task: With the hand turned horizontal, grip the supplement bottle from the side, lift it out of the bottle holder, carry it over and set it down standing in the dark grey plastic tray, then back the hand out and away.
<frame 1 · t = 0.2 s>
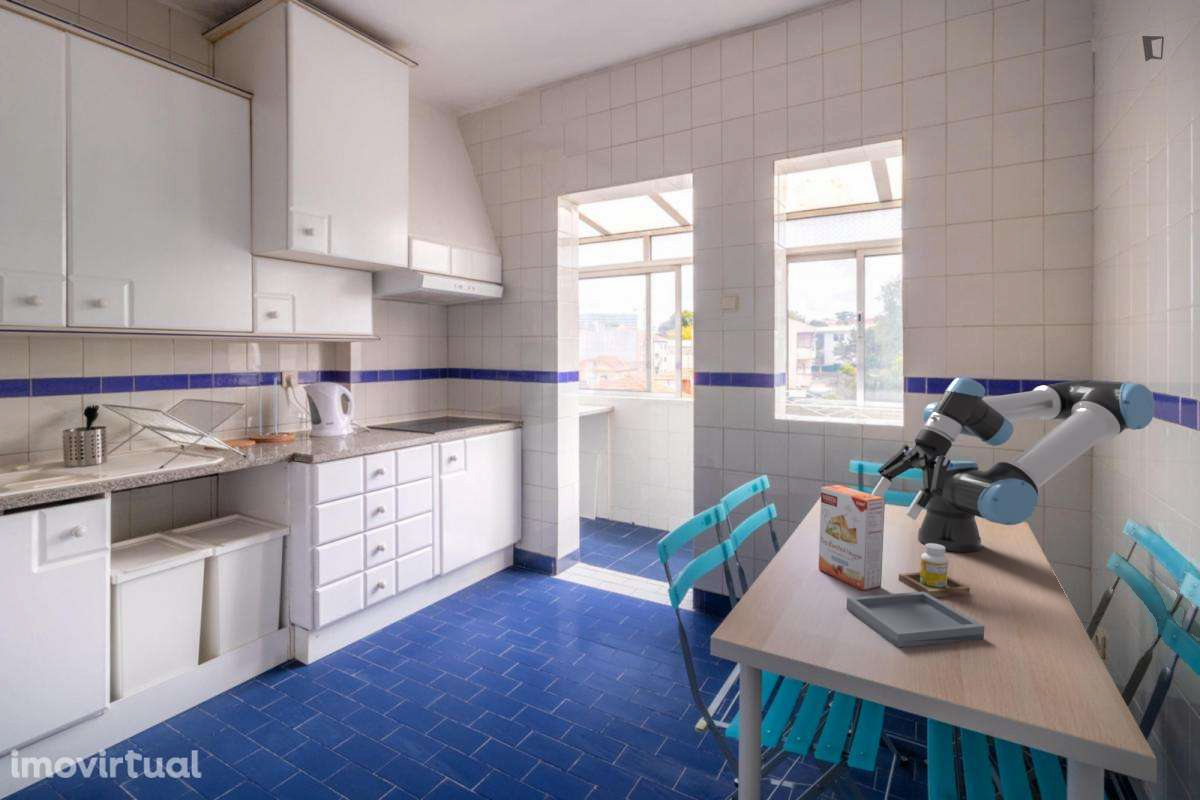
hand: (890, 508, 147), 15 cm above the table, tool tilted 35°, fingers open, 13 cm apart
supplement bottle: (933, 588, 136), resting in bottle holder
cracker box: (848, 579, 141), on the table
bottle holder: (933, 587, 136), on the table
tray: (911, 623, 119), on the table
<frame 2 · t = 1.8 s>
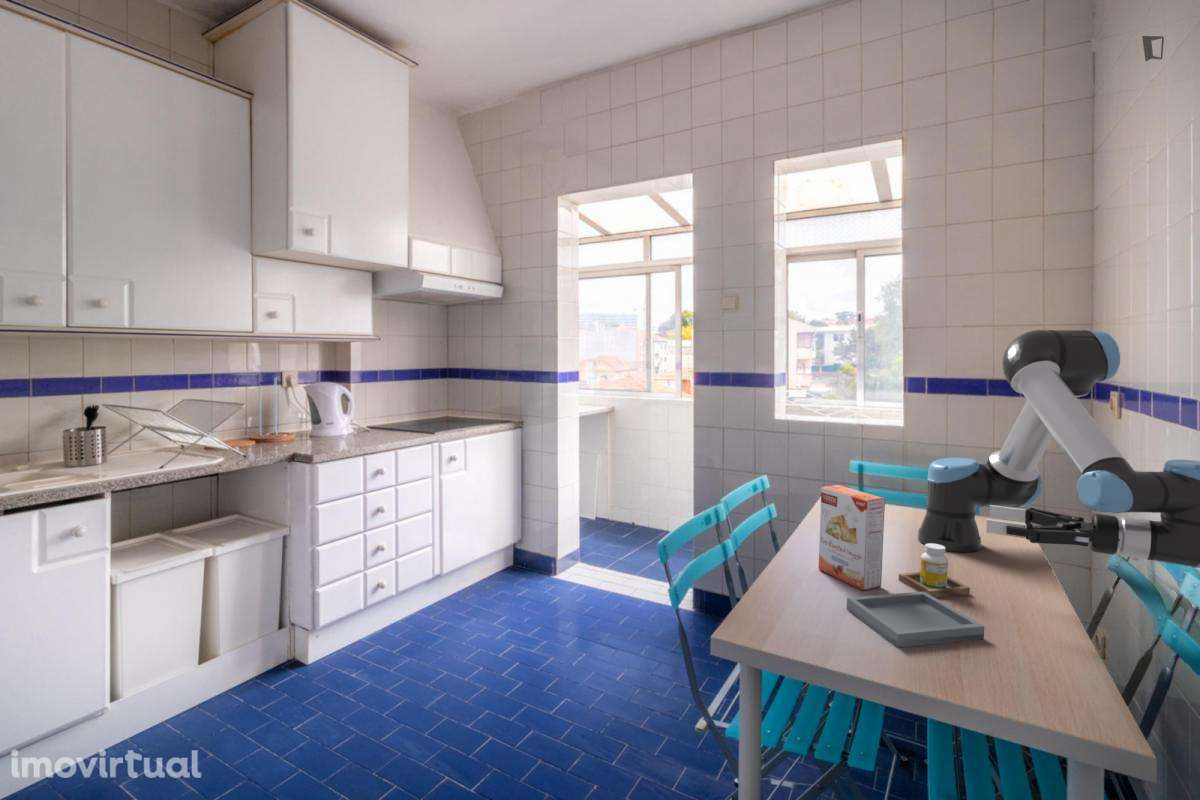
hand: (988, 518, 129), 18 cm above the table, tool horizontal, fingers open, 13 cm apart
nothing on the table moved.
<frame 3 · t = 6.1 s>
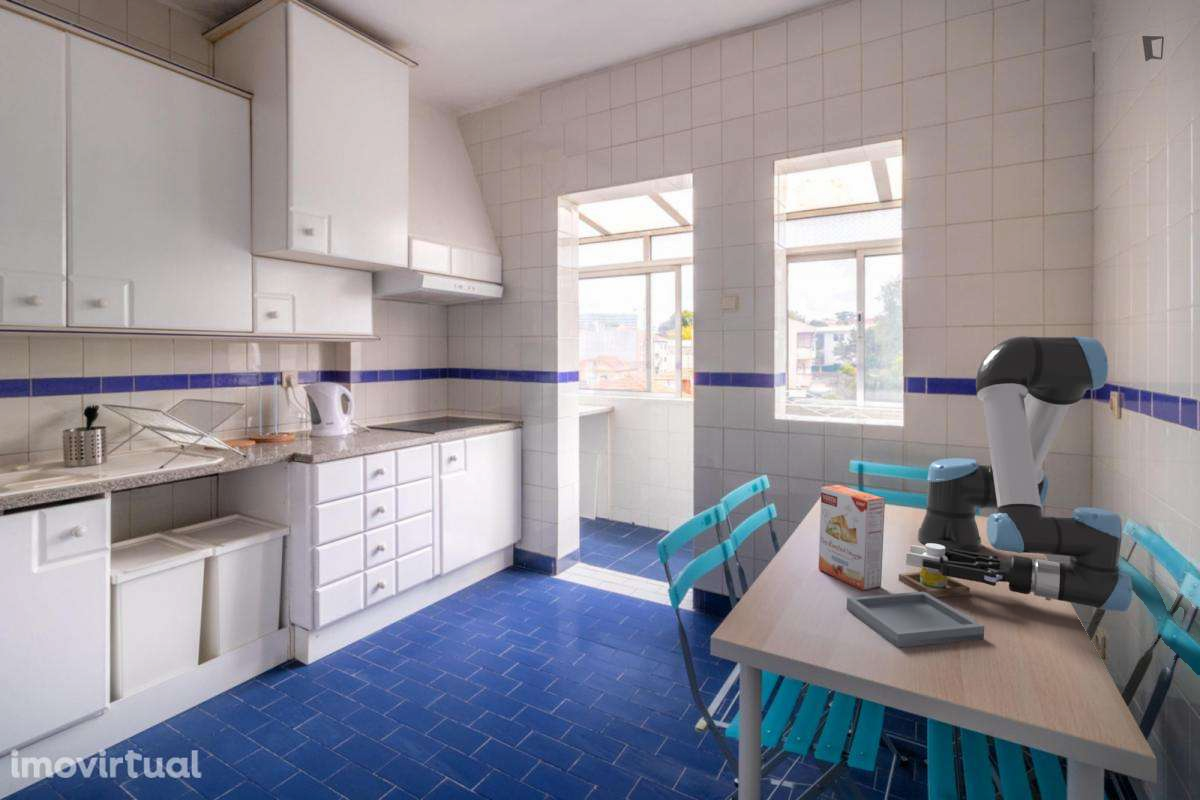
hand: (908, 554, 139), 7 cm above the table, tool horizontal, fingers closed on supplement bottle, 5 cm apart
supplement bottle: (933, 588, 136), resting in bottle holder, touching gripper
everything else where it was.
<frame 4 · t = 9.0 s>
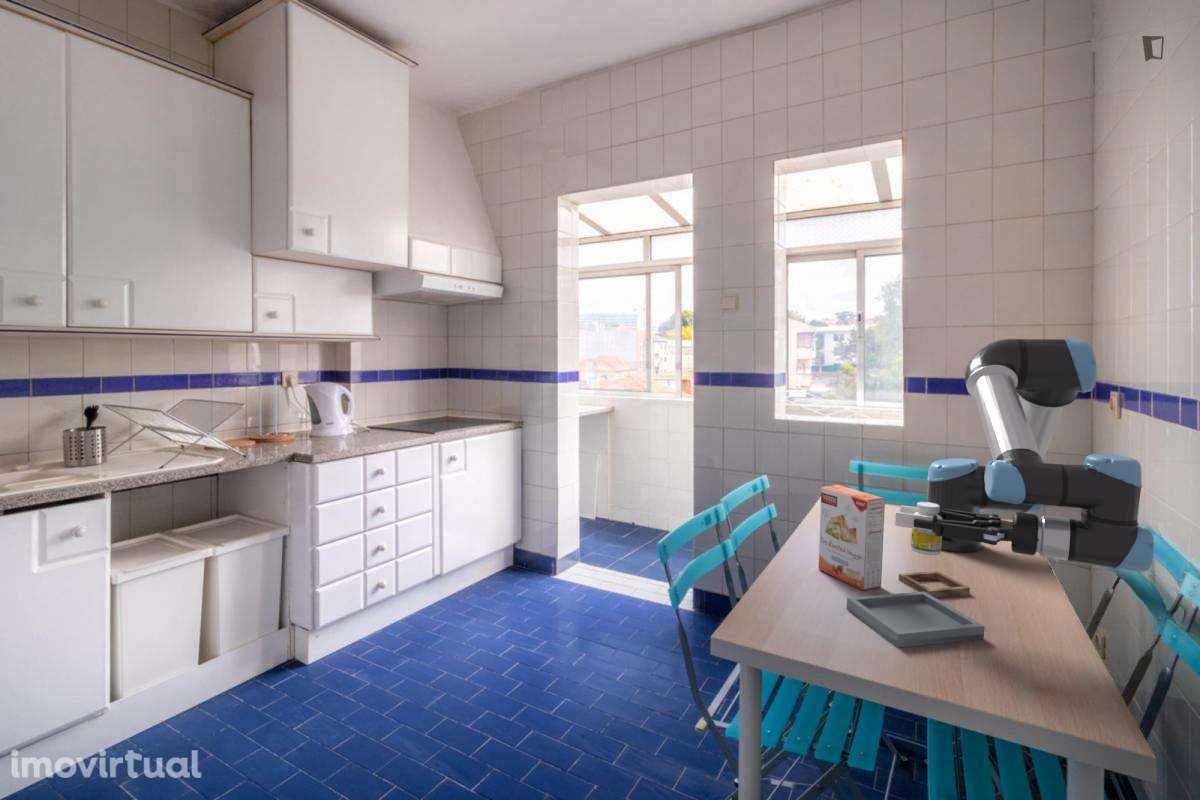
hand: (898, 515, 123), 20 cm above the table, tool horizontal, fingers closed on supplement bottle, 5 cm apart
supplement bottle: (925, 552, 121), point 13 cm above the table, touching gripper
everything else where it was.
when the fingers open (8 cm above the table, at t = 12.1 s): supplement bottle stays where it is, resting on tray.
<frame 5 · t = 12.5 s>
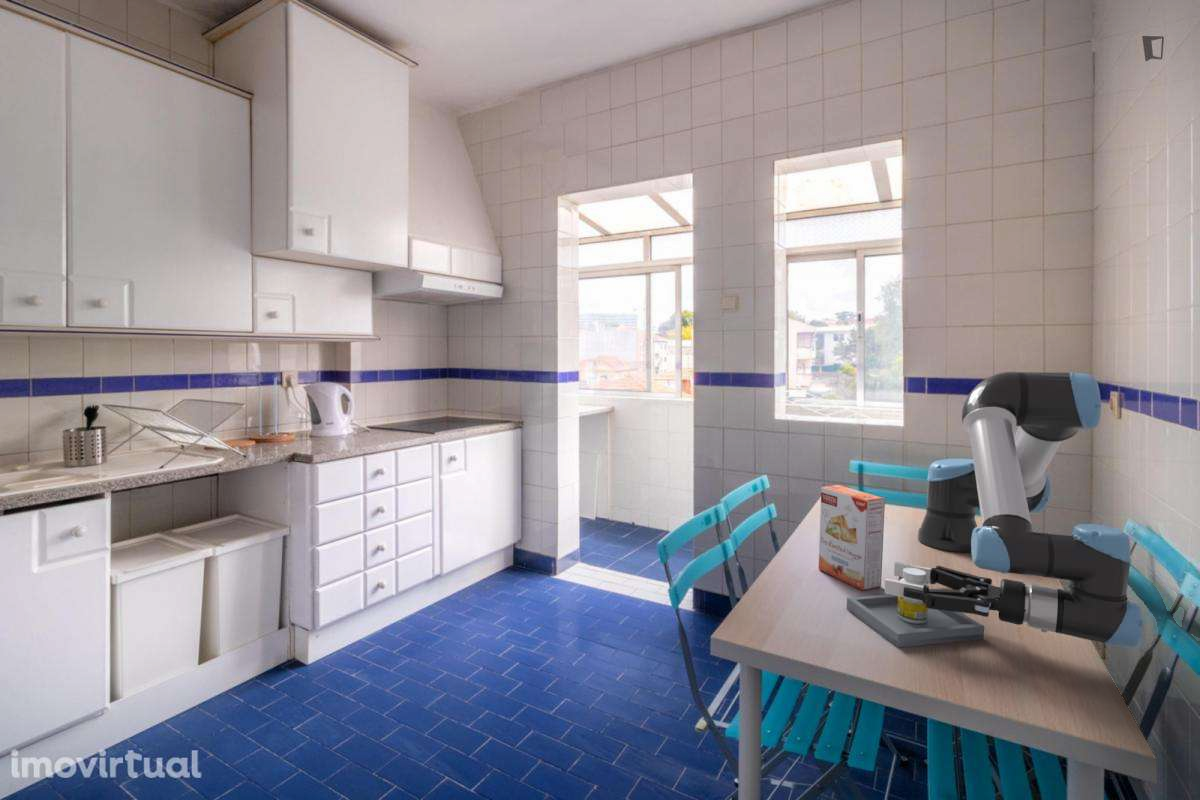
hand: (890, 576, 120), 8 cm above the table, tool horizontal, fingers open, 10 cm apart
supplement bottle: (912, 619, 119), point 1 cm above the table, touching tray
everything else where it was.
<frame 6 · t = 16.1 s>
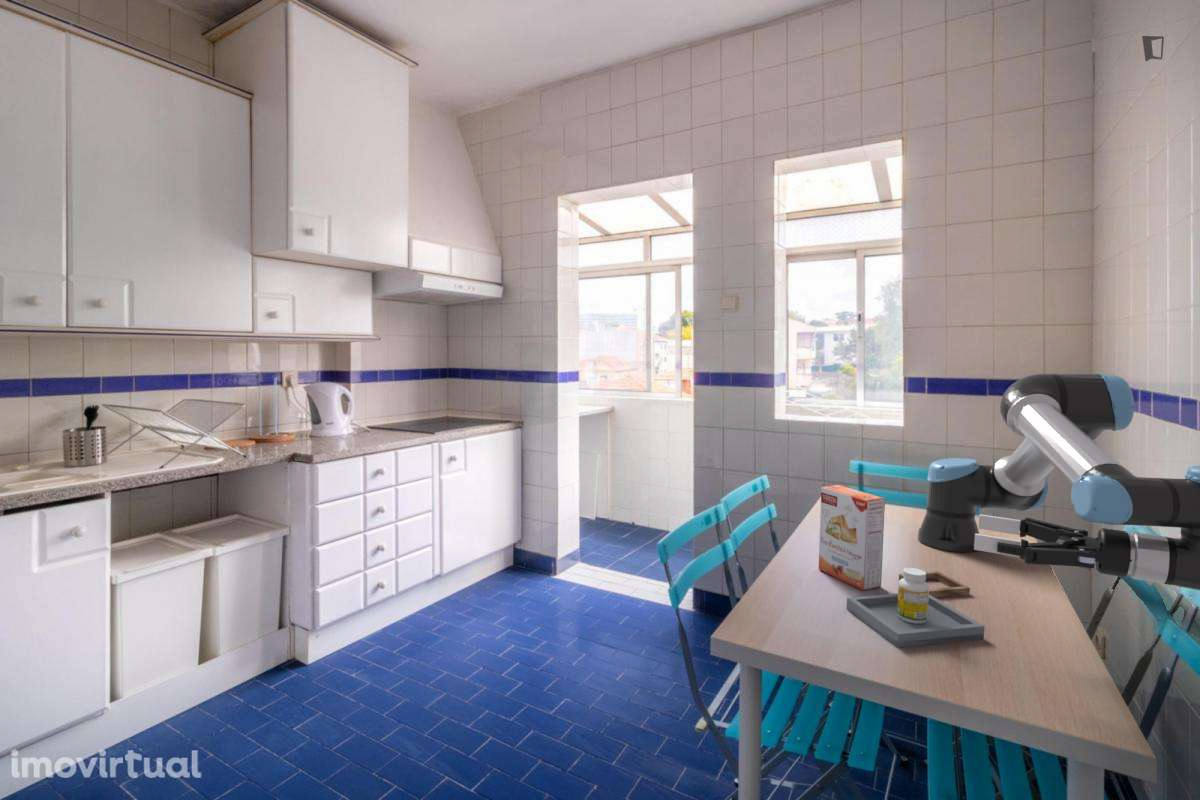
hand: (976, 530, 111), 21 cm above the table, tool horizontal, fingers open, 13 cm apart
nothing on the table moved.
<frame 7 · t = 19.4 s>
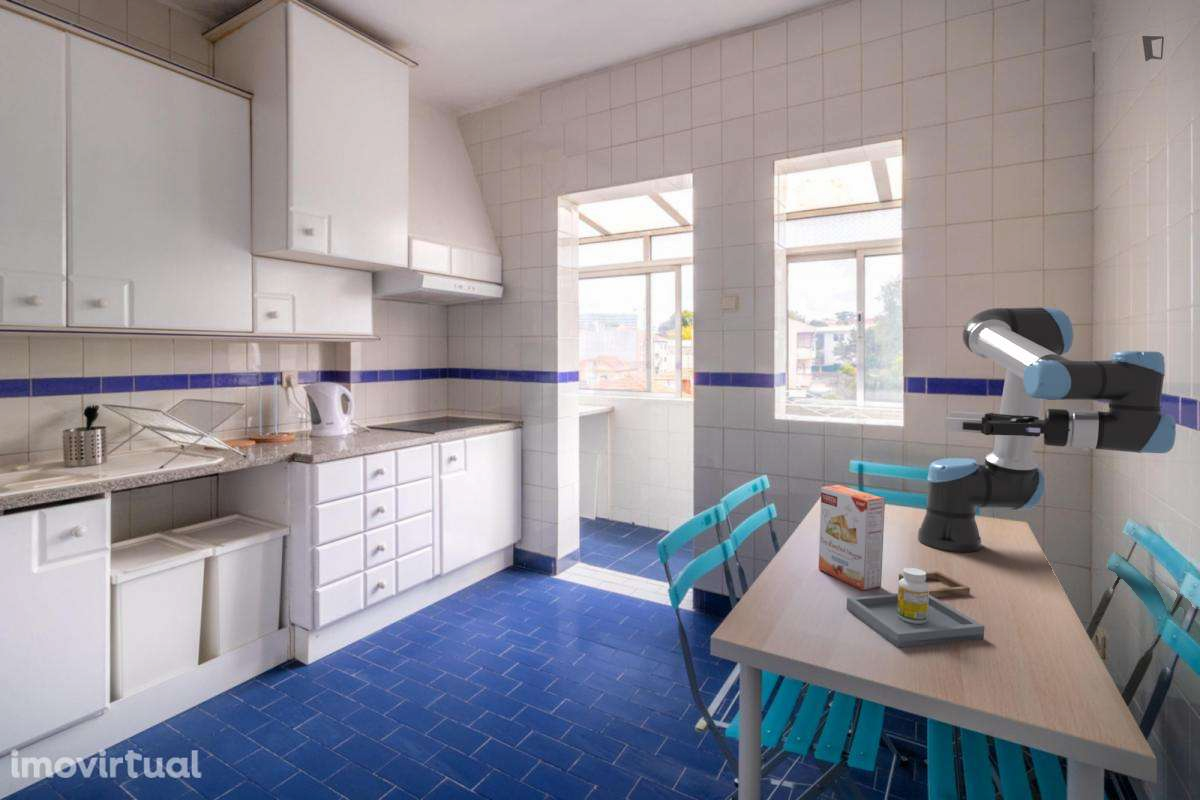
hand: (947, 420, 133), 38 cm above the table, tool horizontal, fingers open, 13 cm apart
nothing on the table moved.
at the end: supplement bottle inside the target area on the tray (0.1 cm from its centre), point 0.8 cm above the tray's base; supplement bottle tilted 0°; the gripper is holding nothing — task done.
